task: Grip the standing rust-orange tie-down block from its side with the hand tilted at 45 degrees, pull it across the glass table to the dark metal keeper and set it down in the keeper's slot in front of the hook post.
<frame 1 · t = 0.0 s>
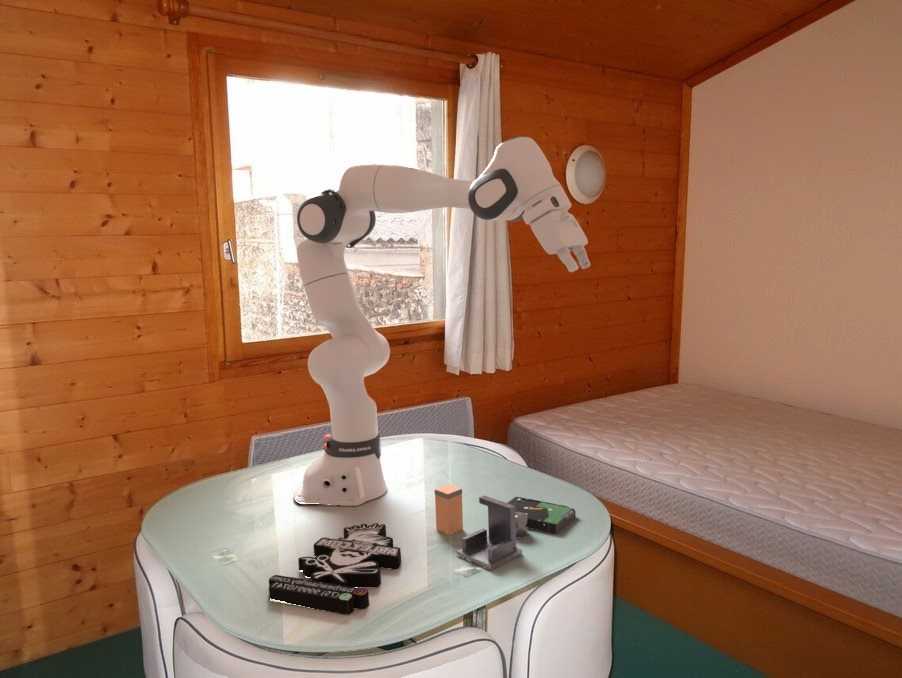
hand: (581, 269, 142), 54 cm above the table, tool tilted 30°, fingers open, 8 cm apart
tie down block: (449, 529, 151), on the table
sign: (349, 571, 135), on the table
disk drive: (535, 521, 155), on the table
link stub: (517, 533, 147), on the table
keeper: (489, 555, 138), on the table
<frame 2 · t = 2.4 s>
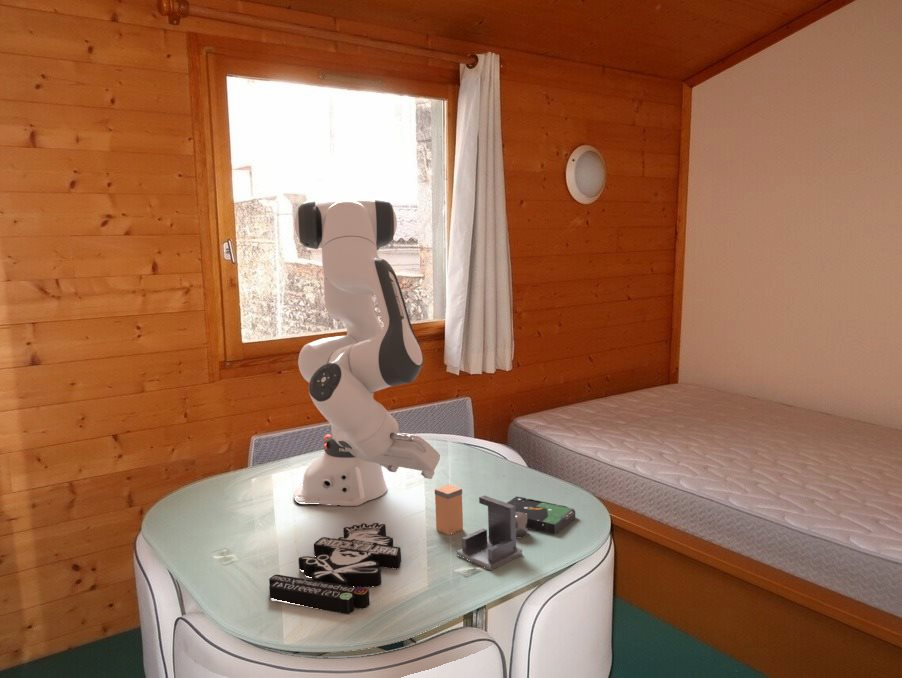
hand: (412, 472, 139), 16 cm above the table, tool tilted 40°, fingers open, 8 cm apart
nothing on the table moved.
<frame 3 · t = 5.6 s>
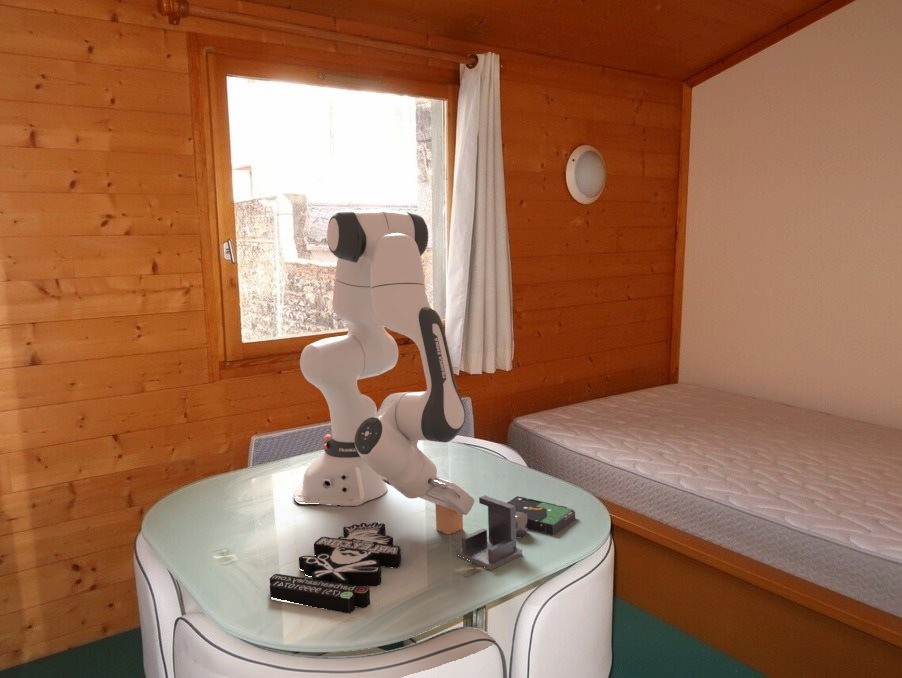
hand: (451, 507, 150), 5 cm above the table, tool tilted 45°, fingers closed on tie down block, 4 cm apart
tie down block: (449, 529, 151), on the table, touching gripper
everything else where it was.
when the fingers open (7 cm above the table, at t = 10.0 s): tie down block drops 1 cm, resting on keeper.
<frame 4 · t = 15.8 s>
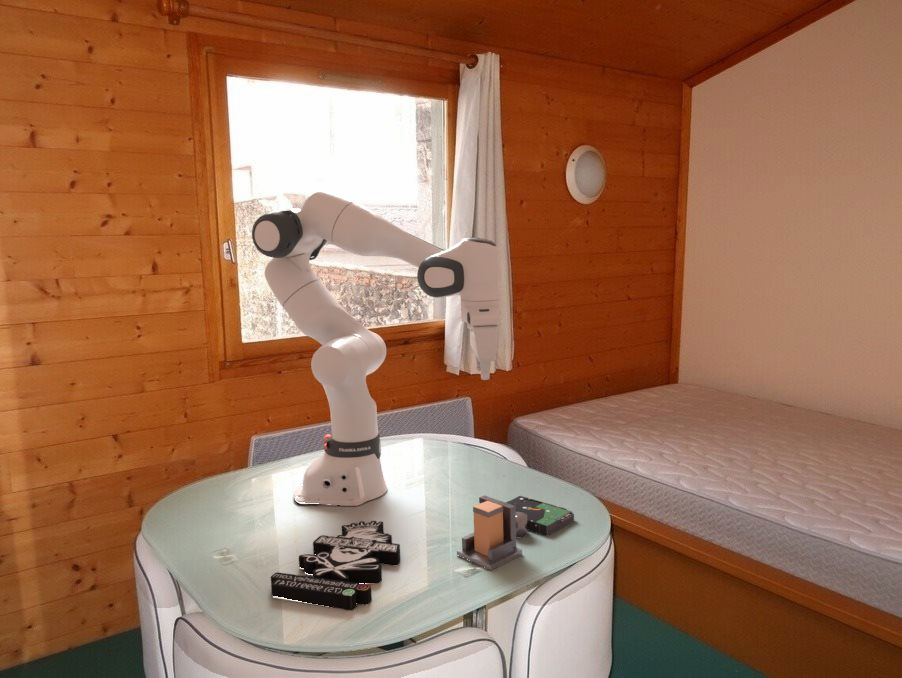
hand: (482, 374, 156), 31 cm above the table, tool pointing down, fingers open, 8 cm apart
tie down block: (489, 550, 138), point 1 cm above the table, touching keeper
at the end: tie down block 0.1 cm off-centre on the keeper, point 1.0 cm above the keeper's base; tie down block tilted 0°; the gripper is holding nothing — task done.
